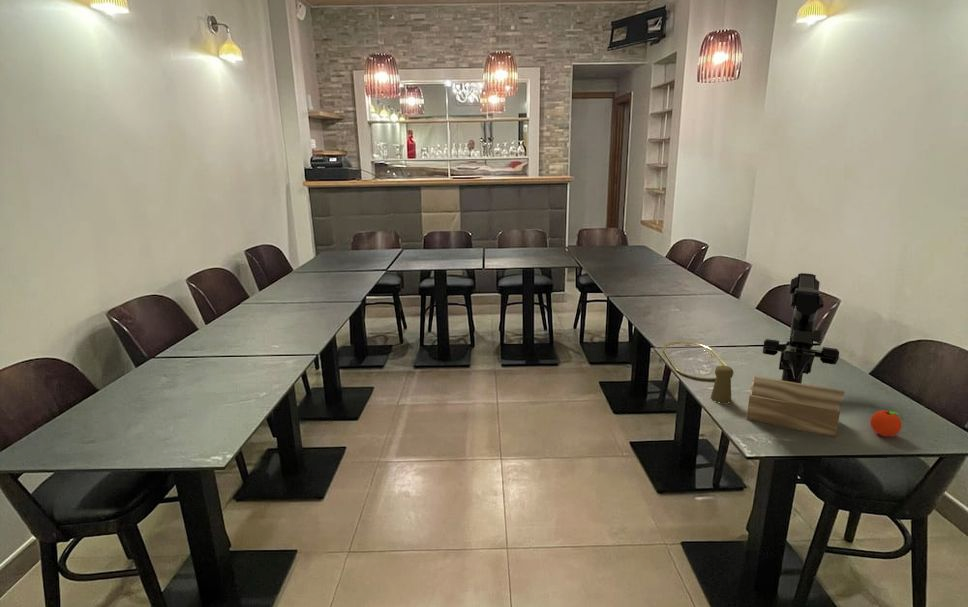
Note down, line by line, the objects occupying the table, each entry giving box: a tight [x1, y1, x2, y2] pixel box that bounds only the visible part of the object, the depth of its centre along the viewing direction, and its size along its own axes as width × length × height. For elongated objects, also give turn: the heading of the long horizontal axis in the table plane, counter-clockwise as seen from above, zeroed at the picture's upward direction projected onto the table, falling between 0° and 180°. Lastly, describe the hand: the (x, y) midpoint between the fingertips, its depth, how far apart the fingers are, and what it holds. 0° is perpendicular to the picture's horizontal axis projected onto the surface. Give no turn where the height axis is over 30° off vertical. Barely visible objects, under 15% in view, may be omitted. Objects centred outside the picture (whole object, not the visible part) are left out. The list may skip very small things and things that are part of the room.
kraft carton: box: [746, 379, 841, 438], centre depth 155 cm, size 12×22×8 cm, turn 61°
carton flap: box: [752, 375, 845, 411], centre depth 145 cm, size 11×21×1 cm
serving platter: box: [662, 341, 727, 381], centre depth 198 cm, size 19×35×2 cm, turn 176°
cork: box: [710, 365, 734, 404], centre depth 167 cm, size 6×6×11 cm
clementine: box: [869, 409, 904, 437], centre depth 146 cm, size 8×7×7 cm
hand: (796, 379), depth 152 cm, fingers closed
